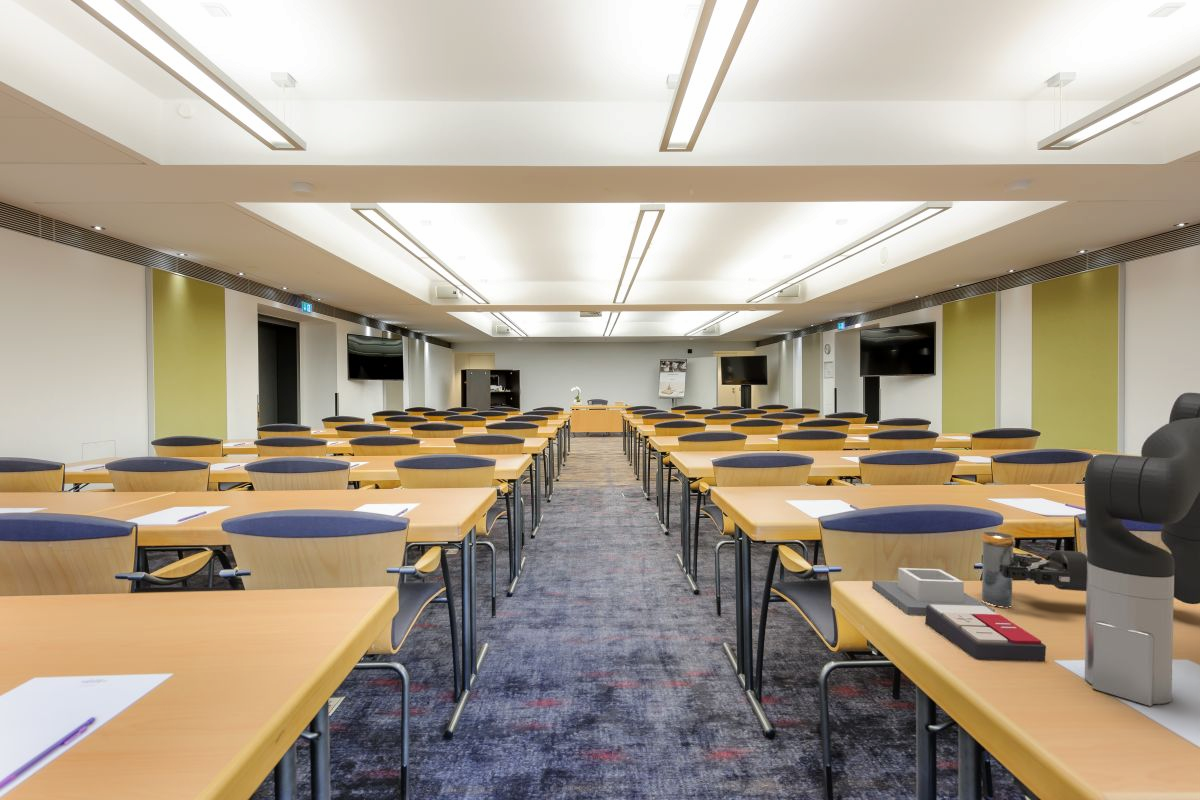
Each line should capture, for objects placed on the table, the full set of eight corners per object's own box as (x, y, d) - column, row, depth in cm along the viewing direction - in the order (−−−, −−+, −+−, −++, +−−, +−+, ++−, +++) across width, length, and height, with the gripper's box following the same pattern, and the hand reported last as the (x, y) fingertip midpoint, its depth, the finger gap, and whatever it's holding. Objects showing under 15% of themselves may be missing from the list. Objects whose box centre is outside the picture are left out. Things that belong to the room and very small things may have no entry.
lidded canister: (1008, 610, 113) (1009, 539, 113) (976, 602, 117) (978, 534, 117) (1016, 604, 117) (1018, 535, 117) (985, 597, 121) (987, 530, 121)
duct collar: (994, 618, 109) (995, 589, 109) (907, 614, 110) (908, 585, 110) (947, 590, 125) (948, 564, 125) (872, 587, 126) (872, 562, 126)
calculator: (977, 639, 91) (925, 600, 106) (975, 665, 91) (924, 623, 106) (1048, 641, 91) (985, 602, 106) (1046, 668, 91) (984, 625, 106)
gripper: (1060, 543, 121) (976, 538, 124) (1107, 562, 107) (1011, 556, 110) (1060, 579, 121) (975, 573, 124) (1106, 602, 107) (1010, 595, 110)
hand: (992, 565), depth 117 cm, fingers open, 8 cm apart
